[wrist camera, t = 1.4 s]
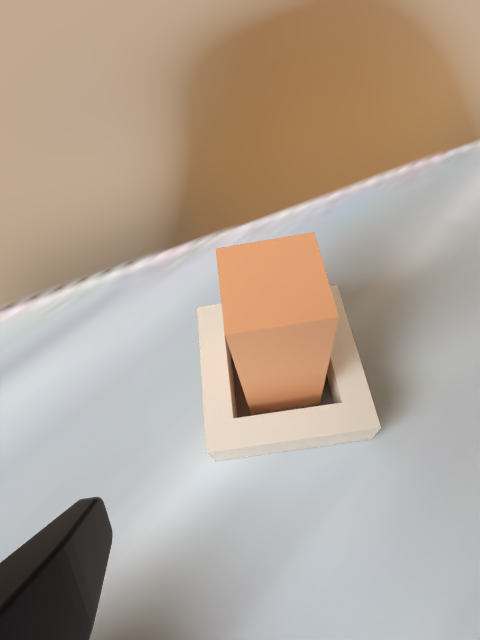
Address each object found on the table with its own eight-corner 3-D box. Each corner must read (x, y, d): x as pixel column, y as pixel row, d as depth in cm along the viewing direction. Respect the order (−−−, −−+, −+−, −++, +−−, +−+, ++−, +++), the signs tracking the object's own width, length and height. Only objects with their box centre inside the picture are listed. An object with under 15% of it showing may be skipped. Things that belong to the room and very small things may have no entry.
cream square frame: (333, 306, 24) (337, 284, 22) (371, 439, 20) (381, 427, 18) (205, 327, 25) (197, 307, 23) (215, 461, 20) (206, 452, 18)
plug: (305, 343, 23) (314, 232, 15) (319, 404, 21) (338, 317, 13) (243, 352, 24) (215, 248, 15) (251, 414, 22) (224, 334, 13)
